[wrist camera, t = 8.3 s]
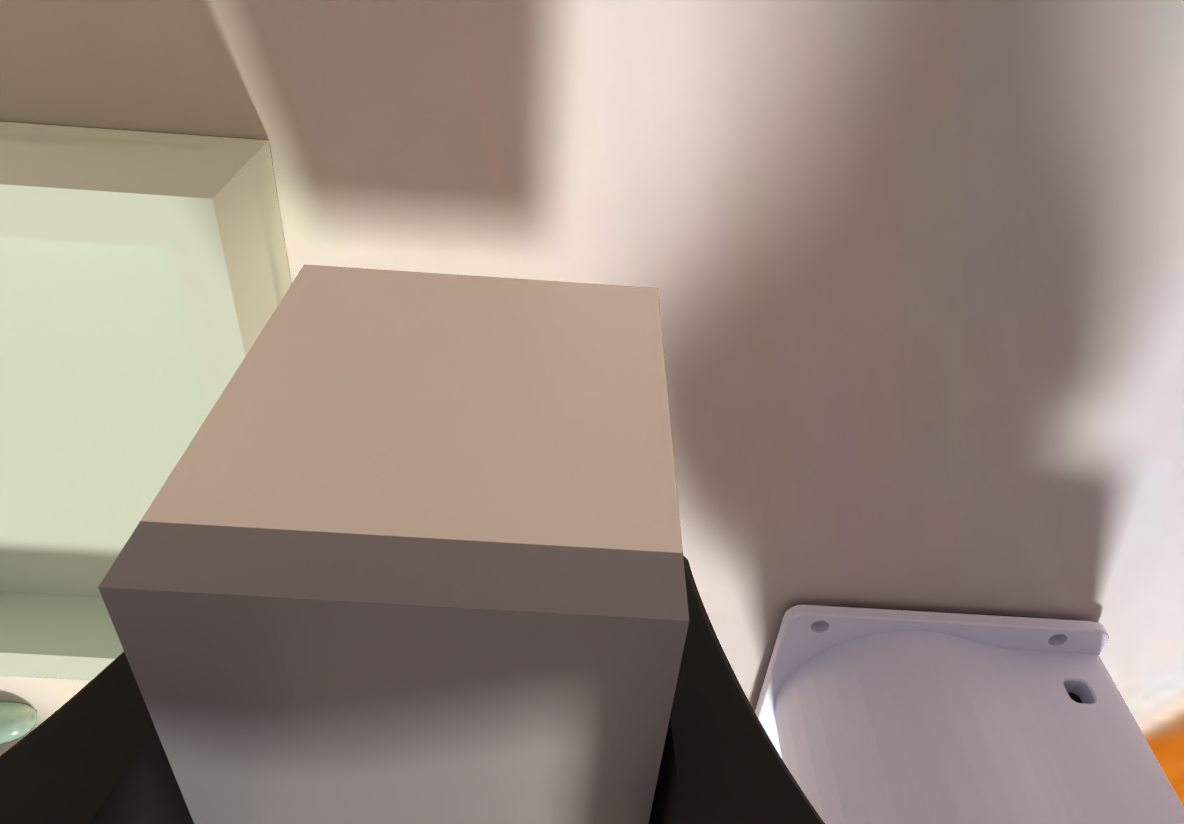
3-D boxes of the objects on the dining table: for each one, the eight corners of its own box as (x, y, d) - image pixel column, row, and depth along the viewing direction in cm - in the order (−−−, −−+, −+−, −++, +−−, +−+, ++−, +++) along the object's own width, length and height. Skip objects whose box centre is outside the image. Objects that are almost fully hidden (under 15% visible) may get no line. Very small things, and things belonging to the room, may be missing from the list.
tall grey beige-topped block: (657, 288, 12) (688, 621, 7) (612, 648, 17) (613, 994, 12) (304, 264, 12) (97, 586, 7) (359, 633, 17) (256, 977, 12)
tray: (268, 140, 17) (212, 198, 15) (342, 606, 25) (314, 692, 23) (-293, 101, 17) (-443, 153, 14) (-33, 585, 25) (-101, 670, 23)
